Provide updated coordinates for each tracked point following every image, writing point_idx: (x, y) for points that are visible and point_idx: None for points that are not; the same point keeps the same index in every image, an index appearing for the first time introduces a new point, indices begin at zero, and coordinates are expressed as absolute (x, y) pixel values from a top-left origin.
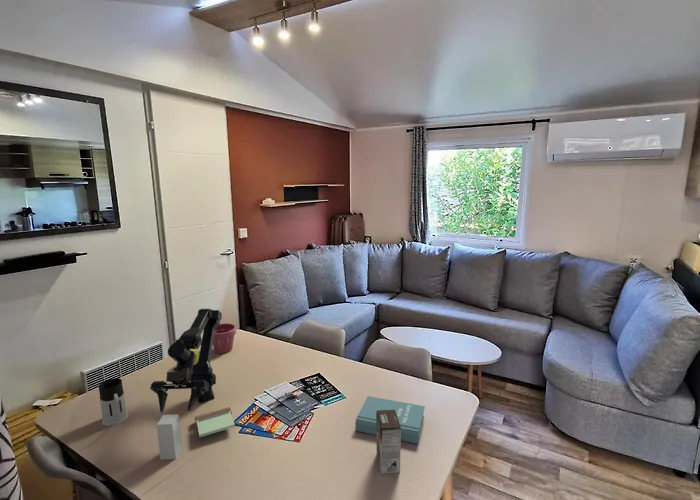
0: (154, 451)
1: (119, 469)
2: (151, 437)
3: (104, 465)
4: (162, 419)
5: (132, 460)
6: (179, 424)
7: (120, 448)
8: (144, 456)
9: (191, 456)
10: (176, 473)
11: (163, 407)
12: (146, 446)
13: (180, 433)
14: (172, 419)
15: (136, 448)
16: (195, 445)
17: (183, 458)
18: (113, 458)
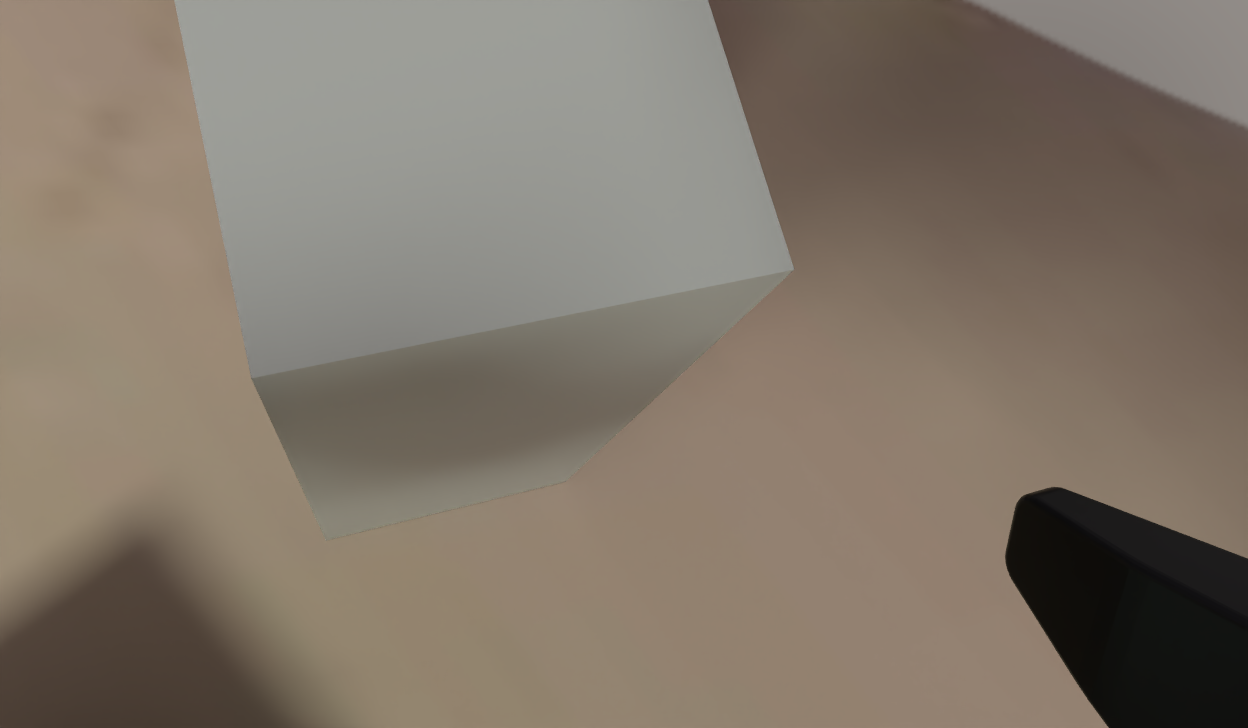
0: (721, 399)
1: (902, 62)
2: (997, 665)
3: (1115, 101)
4: (649, 59)
5: (876, 207)
6: (289, 457)
7: (1198, 376)
8: (783, 291)
9: (38, 396)
10: (88, 58)
11: (1120, 675)
12: (912, 472)
13: (306, 496)
14: (294, 81)
15: (1009, 411)
16: (115, 656)
17: (158, 335)
18: (1121, 209)
